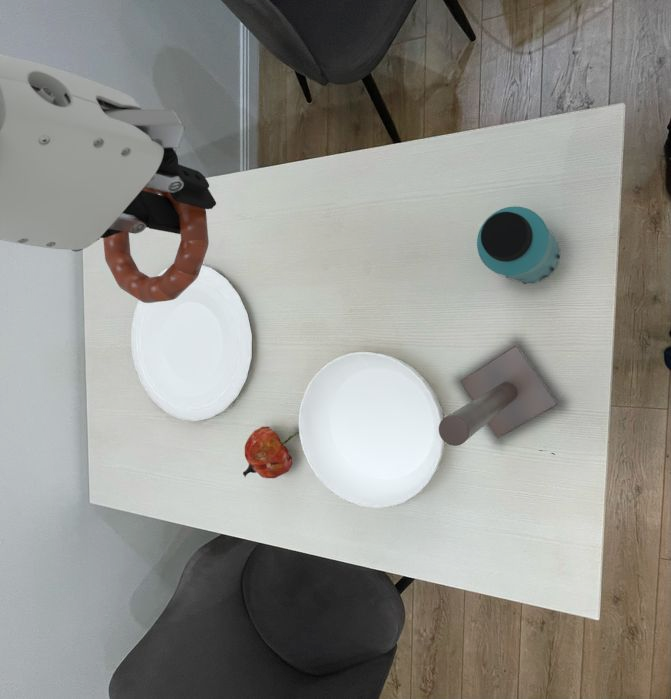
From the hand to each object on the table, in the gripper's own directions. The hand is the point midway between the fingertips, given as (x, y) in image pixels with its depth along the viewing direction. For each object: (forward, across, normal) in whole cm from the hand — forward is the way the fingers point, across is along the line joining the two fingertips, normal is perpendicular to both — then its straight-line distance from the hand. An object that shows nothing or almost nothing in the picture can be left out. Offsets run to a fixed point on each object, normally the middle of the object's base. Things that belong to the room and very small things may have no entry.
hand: (192, 204), depth 42 cm
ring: (-1, +4, 0) cm, 4 cm away
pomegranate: (+34, +27, +15) cm, 46 cm away
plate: (+34, +32, -7) cm, 48 cm away
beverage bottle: (+34, -16, +13) cm, 40 cm away
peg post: (+34, -5, +25) cm, 42 cm away
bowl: (+34, +11, +20) cm, 41 cm away
